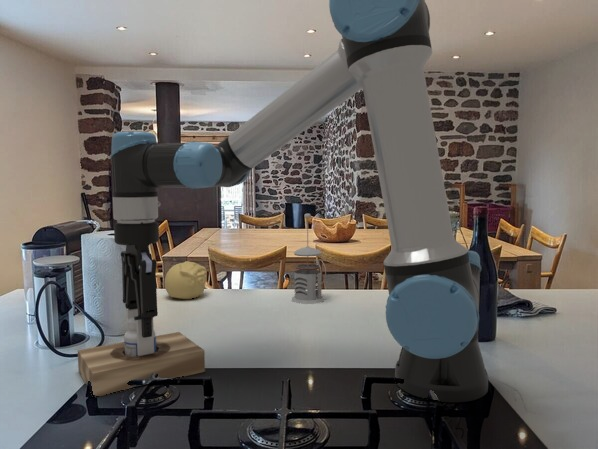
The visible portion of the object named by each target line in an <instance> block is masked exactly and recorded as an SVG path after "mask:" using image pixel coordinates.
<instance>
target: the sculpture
mask: <svg viewBox="0 0 598 449" xmlns="http://www.w3.org/2000/svg"><path fill="white" fill-rule="evenodd" d="M207 272H208V271H207V268H206V267H205V266H202V265H201V264H199V263H196V262H193V261H188V260H187V261H186V260H185V261H184V262H180V263H177V264H174V265H172V266H171V267H170V268H169V270H168V271H167V272H166V273H165V274H166V275H165V278H164V287H165V288H164V289H165V291H166V294H167V295H168V296H169V297H171V298H175V299H182V300H193V299H192V298H194V299H197V298H199V297H200V296H201V295H202V294H203V292H204V291H205V287H206V282H207ZM196 297H197V298H196Z"/></svg>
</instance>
